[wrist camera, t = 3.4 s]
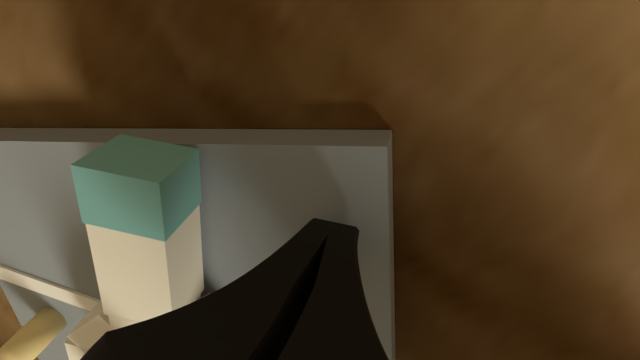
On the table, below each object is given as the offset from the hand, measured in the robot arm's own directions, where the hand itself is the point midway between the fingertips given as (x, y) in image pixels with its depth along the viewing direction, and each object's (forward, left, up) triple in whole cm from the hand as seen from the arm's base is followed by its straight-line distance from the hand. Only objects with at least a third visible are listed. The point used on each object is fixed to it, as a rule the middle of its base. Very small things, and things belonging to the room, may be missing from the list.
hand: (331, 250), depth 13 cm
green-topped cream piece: (+6, +3, 0) cm, 6 cm away
